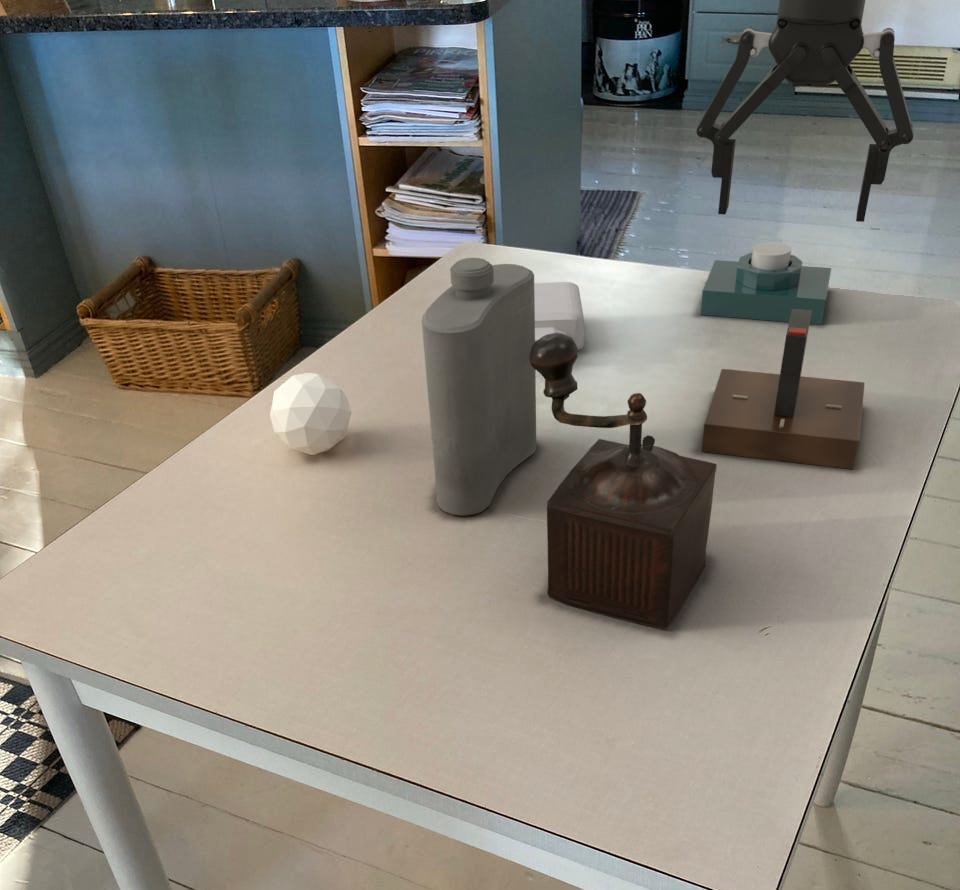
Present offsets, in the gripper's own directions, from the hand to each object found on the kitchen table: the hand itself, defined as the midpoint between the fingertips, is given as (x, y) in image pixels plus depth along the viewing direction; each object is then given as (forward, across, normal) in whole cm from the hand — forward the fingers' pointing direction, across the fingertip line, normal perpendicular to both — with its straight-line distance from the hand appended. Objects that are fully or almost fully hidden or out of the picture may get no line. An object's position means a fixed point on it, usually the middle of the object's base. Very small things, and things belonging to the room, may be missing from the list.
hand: (790, 214), depth 105 cm
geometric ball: (+15, -42, -31) cm, 54 cm away
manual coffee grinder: (+15, -10, -45) cm, 48 cm away
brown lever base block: (+15, +3, -18) cm, 23 cm away
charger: (+15, -25, -4) cm, 30 cm away
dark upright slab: (+12, +3, -18) cm, 22 cm away
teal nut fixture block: (+15, -2, +13) cm, 20 cm away
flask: (+15, -24, -32) cm, 43 cm away
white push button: (+10, -2, +13) cm, 17 cm away
